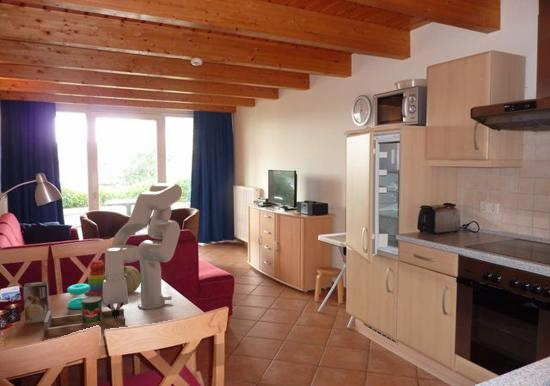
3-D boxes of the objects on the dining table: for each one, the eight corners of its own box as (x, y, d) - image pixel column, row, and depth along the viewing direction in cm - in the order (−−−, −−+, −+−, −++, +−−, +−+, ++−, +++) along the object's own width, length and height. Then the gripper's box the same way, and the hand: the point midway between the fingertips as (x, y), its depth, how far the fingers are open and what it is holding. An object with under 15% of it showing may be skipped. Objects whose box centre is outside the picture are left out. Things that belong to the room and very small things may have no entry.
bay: (123, 314, 184) (123, 301, 184) (125, 325, 172) (125, 311, 172) (48, 324, 173) (48, 310, 172) (44, 337, 160) (44, 322, 160)
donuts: (69, 283, 198) (91, 282, 201) (69, 304, 199) (92, 301, 202) (65, 289, 189) (88, 287, 192) (66, 310, 189) (89, 308, 192)
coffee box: (50, 315, 183) (49, 280, 182) (48, 320, 177) (47, 284, 176) (26, 318, 179) (25, 283, 178) (24, 324, 173) (22, 287, 172)
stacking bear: (102, 289, 223) (102, 257, 221) (112, 292, 216) (111, 259, 215) (83, 293, 214) (82, 260, 213) (92, 298, 208) (91, 263, 207)
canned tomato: (86, 329, 168) (86, 303, 167) (78, 324, 173) (77, 299, 172) (105, 324, 173) (104, 298, 173) (97, 319, 179) (96, 295, 178)
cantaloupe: (138, 287, 225) (137, 261, 224) (144, 295, 213) (143, 266, 212) (109, 291, 218) (108, 264, 217) (114, 299, 205) (113, 270, 204)
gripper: (132, 273, 182) (133, 313, 183) (96, 276, 176) (96, 317, 177) (133, 277, 175) (134, 319, 176) (95, 280, 169) (96, 324, 170)
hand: (115, 318), depth 177 cm, fingers closed
